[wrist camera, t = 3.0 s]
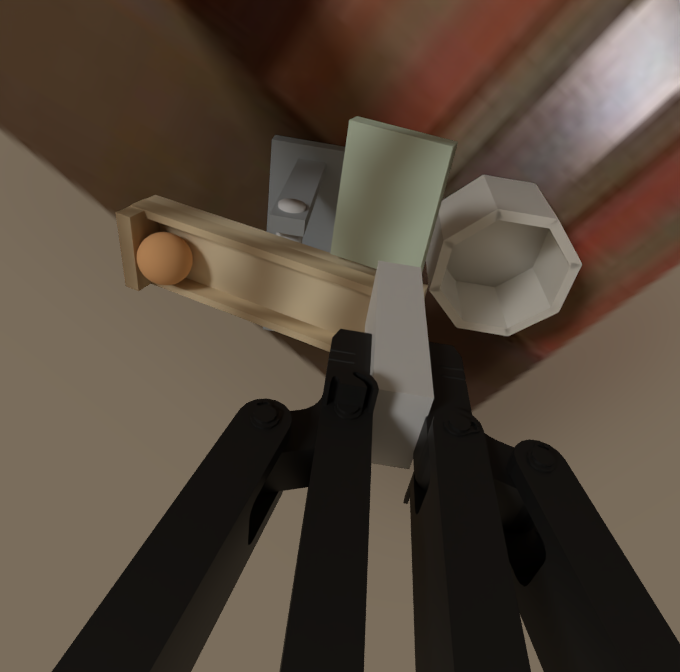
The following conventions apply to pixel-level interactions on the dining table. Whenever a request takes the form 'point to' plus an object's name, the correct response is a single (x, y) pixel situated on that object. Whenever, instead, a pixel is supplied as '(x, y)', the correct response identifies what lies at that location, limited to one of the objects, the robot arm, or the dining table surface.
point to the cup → (499, 257)
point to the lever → (302, 260)
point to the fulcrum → (304, 190)
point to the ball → (164, 258)
